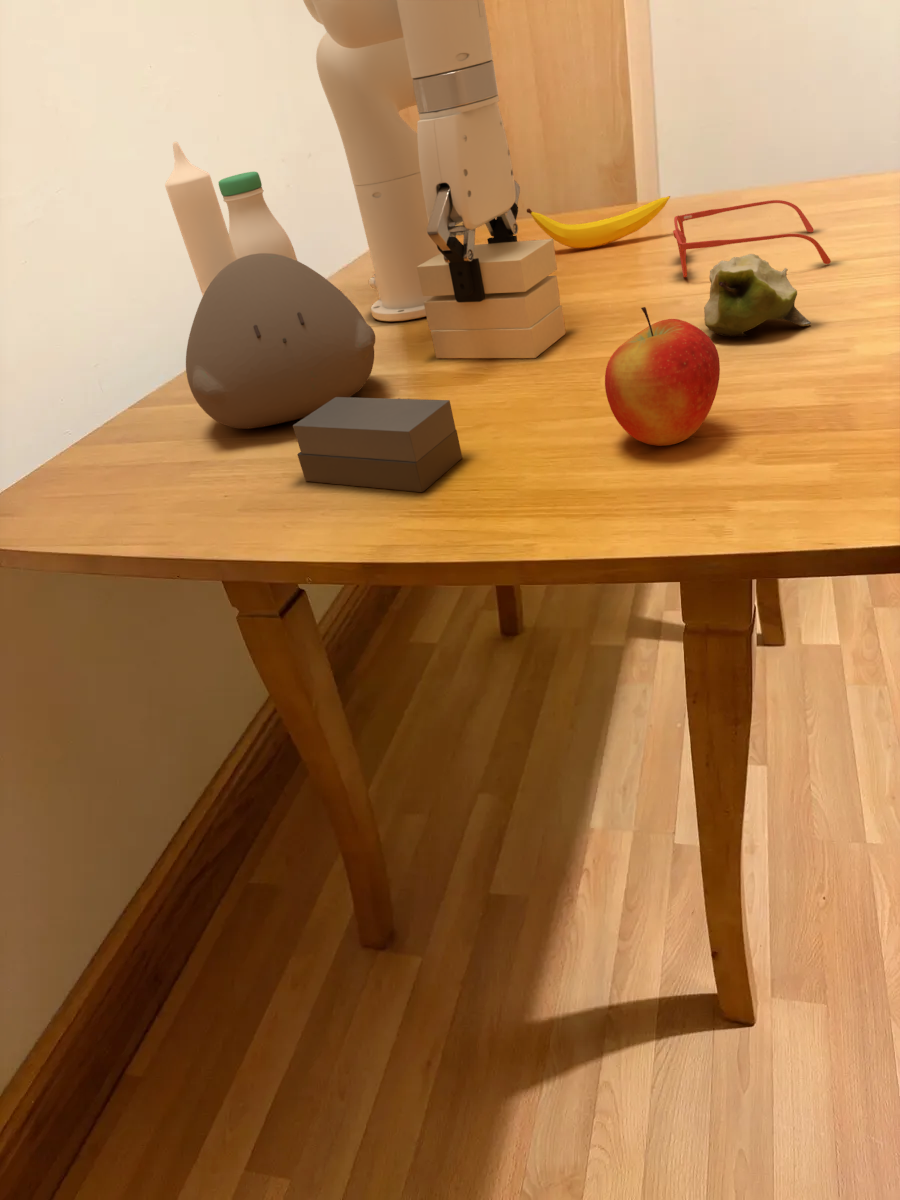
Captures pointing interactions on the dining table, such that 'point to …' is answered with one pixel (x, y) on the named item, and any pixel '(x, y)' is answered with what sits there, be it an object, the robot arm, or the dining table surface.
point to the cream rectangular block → (495, 267)
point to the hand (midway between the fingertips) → (489, 287)
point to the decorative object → (274, 343)
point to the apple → (663, 381)
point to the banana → (599, 226)
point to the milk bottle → (252, 218)
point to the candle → (199, 219)
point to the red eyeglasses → (713, 243)
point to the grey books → (378, 442)
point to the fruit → (749, 296)
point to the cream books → (497, 323)
